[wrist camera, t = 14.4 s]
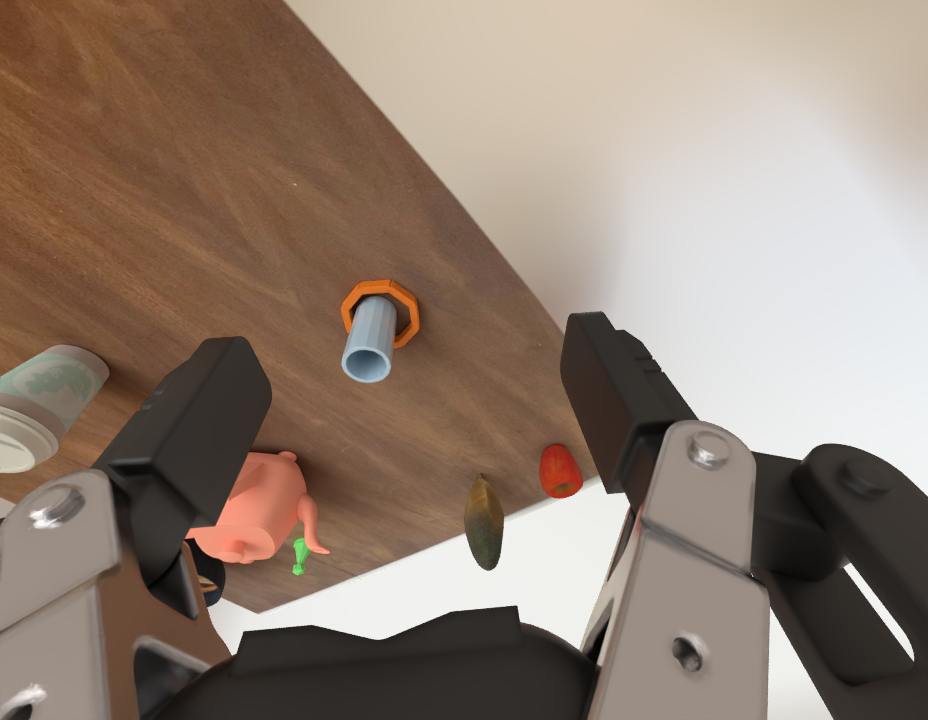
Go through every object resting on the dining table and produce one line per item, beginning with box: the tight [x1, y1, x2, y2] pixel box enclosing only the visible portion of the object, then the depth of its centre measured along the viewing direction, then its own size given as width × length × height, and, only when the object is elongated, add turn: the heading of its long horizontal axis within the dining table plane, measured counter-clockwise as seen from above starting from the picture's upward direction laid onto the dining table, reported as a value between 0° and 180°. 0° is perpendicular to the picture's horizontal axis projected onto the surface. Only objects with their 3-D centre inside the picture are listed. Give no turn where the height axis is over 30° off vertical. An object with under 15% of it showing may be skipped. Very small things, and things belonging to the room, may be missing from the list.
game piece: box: [292, 538, 311, 575], centre depth 71 cm, size 4×4×6 cm
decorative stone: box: [464, 474, 504, 571], centre depth 57 cm, size 10×6×15 cm, turn 176°
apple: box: [539, 444, 583, 499], centre depth 57 cm, size 6×6×8 cm
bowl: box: [184, 538, 226, 607], centre depth 66 cm, size 17×17×10 cm
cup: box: [342, 296, 397, 383], centre depth 38 cm, size 4×4×9 cm
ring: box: [341, 280, 420, 348], centre depth 41 cm, size 8×8×1 cm
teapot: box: [185, 452, 330, 564], centre depth 52 cm, size 16×17×14 cm
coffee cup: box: [0, 345, 109, 473], centre depth 38 cm, size 9×8×12 cm
